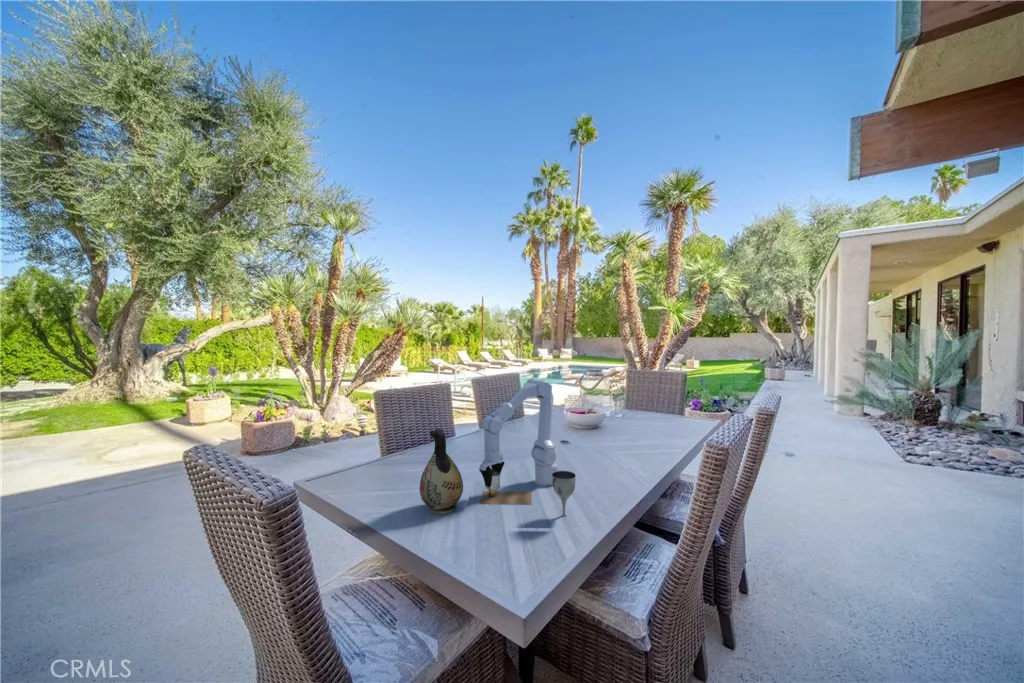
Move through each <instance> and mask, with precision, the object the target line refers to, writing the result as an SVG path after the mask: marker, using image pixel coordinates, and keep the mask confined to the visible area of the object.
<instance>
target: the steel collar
mask: <svg viewBox="0 0 1024 683" xmlns="http://www.w3.org/2000/svg"><path fill="white" fill-rule="evenodd" d="M500 487H501V474H500V473H499V472H497V471H494V472H493V475H492V484H491V487H487V486H485V485H484V488H485V489H487V490H488V489H490V490H495V489H496V490H498V489H499V488H500Z"/></svg>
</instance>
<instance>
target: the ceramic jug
mask: <svg viewBox="0 0 1024 683" xmlns="http://www.w3.org/2000/svg"><path fill="white" fill-rule="evenodd" d="M429 434H430V437H431V438H432V439H433V441H434V451H433V453H432V456H431V457H430V459H429V460H428V462H427V464H426V465H425V467H424V470H423V472H422V474H421V476H420V481H419V494H420V497H421V500H422V502H423V503H424V504H425V505H427V507H428V508H429V511H430V510H431V511H430V512H431V513H432V512H433V514H436V515H446V514H449V513H451V512H453V511H455V510H456V507H457V503H458V502H459V501H460V499H461V497H462V494H463V491H464V481H463V477H462V474H461V472H460V470H459V467H458V466H457V465H456V463H455V461H454V460H453V459H452V457H450V455H449V454H448V453H447V440H446V432H445V431H444V430H443V428H439V427H438V428H436V429H434V430H430V432H429Z"/></svg>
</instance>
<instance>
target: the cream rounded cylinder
mask: <svg viewBox="0 0 1024 683" xmlns="http://www.w3.org/2000/svg"><path fill="white" fill-rule="evenodd" d="M487 491H488V496H489V497H496V491H497V489H495V490H490V489H487Z"/></svg>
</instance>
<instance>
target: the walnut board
mask: <svg viewBox="0 0 1024 683" xmlns="http://www.w3.org/2000/svg"><path fill="white" fill-rule="evenodd" d="M532 496H533V492H532V491H526V490H525V491H523V490H522V491H518V490H517V491H514V490H513V491H511V490H509V491H508V490H507V491H506V490H496V497H489V496H488V490H483V491H482V494H481V497H480V501H479V505H504V506H505V505H508V506H509V505H510V506H513V505H514V506H516V505H519V506H532V504H533V503H532V502H533V497H532Z"/></svg>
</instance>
